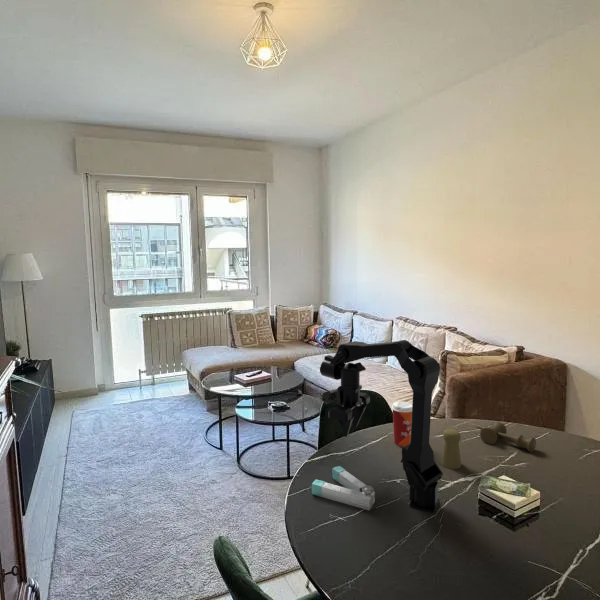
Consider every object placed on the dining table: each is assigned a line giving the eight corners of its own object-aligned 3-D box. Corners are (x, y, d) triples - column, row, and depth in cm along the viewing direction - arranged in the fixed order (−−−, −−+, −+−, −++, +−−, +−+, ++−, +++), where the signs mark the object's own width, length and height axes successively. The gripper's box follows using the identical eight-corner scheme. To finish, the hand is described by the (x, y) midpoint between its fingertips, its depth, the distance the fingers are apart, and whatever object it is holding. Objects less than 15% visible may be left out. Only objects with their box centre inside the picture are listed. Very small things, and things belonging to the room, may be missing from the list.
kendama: (528, 458, 145) (469, 438, 160) (539, 450, 152) (481, 431, 166) (529, 441, 144) (470, 422, 159) (540, 433, 151) (483, 415, 165)
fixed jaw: (376, 499, 122) (376, 487, 122) (369, 510, 117) (369, 498, 116) (321, 484, 130) (321, 473, 130) (311, 494, 125) (311, 482, 125)
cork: (458, 459, 144) (459, 427, 142) (463, 469, 138) (464, 435, 136) (439, 459, 144) (440, 426, 143) (443, 468, 138) (444, 434, 137)
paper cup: (408, 449, 151) (408, 410, 150) (387, 444, 156) (387, 405, 154) (417, 441, 158) (418, 403, 156) (397, 436, 162) (397, 399, 160)
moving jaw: (366, 495, 124) (367, 485, 124) (359, 498, 123) (359, 487, 122) (339, 475, 135) (339, 465, 135) (332, 478, 134) (332, 468, 133)
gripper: (338, 371, 147) (338, 417, 149) (312, 387, 131) (312, 438, 133) (370, 376, 142) (370, 423, 144) (347, 393, 126) (346, 446, 128)
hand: (349, 432), depth 137 cm, fingers open, 7 cm apart
